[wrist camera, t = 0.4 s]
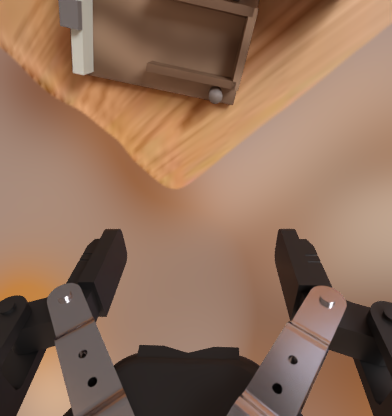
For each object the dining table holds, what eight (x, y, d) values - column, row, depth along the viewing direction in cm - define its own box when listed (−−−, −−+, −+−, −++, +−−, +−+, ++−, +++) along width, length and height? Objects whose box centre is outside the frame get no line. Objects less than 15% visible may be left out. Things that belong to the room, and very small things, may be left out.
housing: (70, -59, 28) (50, -72, 24) (261, -14, 29) (268, -20, 26) (76, 70, 34) (61, 75, 31) (232, 103, 36) (234, 110, 32)
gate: (73, -54, 27) (53, -66, 24) (91, -50, 27) (74, -61, 24) (78, 68, 33) (63, 72, 30) (93, 71, 33) (80, 76, 30)
